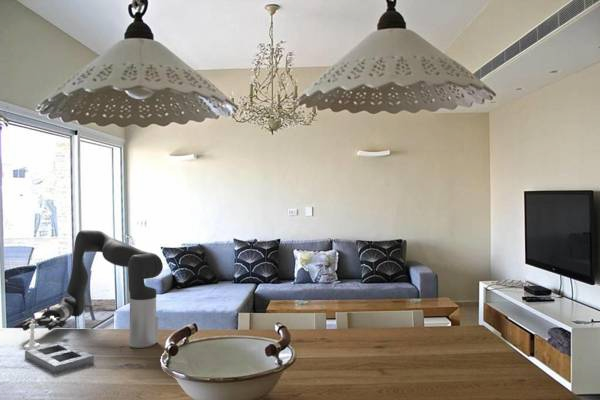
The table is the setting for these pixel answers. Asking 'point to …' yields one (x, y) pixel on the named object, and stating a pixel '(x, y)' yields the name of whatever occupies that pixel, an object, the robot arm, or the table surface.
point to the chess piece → (32, 337)
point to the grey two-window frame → (59, 357)
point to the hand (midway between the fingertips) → (36, 327)
